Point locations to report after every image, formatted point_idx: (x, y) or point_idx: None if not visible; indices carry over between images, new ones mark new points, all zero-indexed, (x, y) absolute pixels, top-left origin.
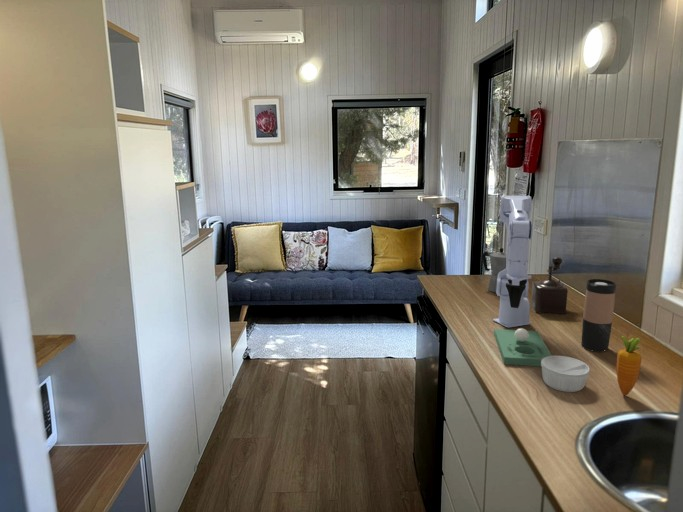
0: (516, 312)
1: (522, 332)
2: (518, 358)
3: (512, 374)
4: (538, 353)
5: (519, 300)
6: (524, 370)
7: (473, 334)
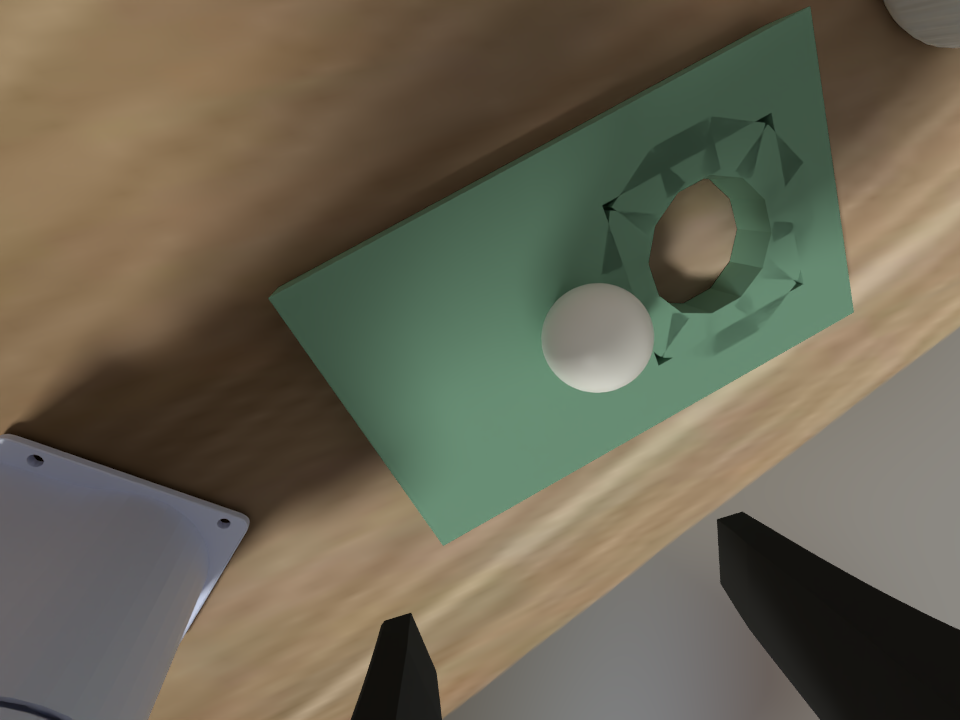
0: (108, 582)
1: (651, 330)
2: (840, 239)
3: (916, 219)
4: (734, 147)
5: (860, 583)
6: (857, 180)
7: (502, 590)
